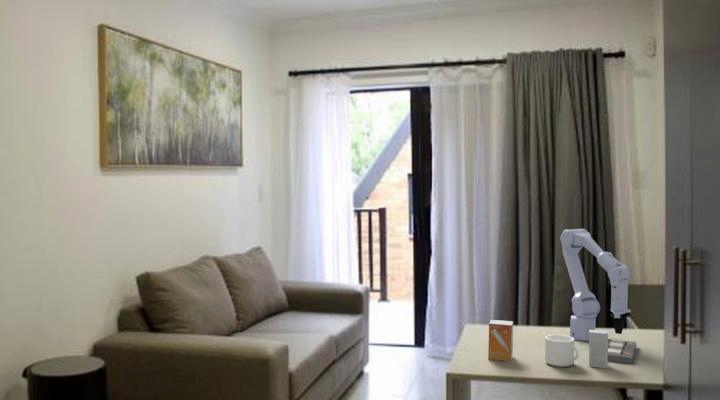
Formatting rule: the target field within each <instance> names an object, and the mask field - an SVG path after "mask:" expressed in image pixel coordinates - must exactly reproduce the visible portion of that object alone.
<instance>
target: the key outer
mask: <svg viewBox="0 0 720 400" xmlns="http://www.w3.org/2000/svg"><path fill="white" fill-rule="evenodd" d="M608 354H616V355H621V350H618V349H610V348H608Z"/></svg>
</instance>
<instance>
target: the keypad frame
mask: <svg viewBox="0 0 720 400" xmlns="http://www.w3.org/2000/svg"><path fill="white" fill-rule="evenodd" d="M611 340H612V338H608V348H609V344H610V342H611ZM636 350H637V341H631V340H630V341H629V340H625V345H623V350H621V355H616V354H608V362H614V363H621V364H628V365H632V362H633V359H634V356H635V353H636Z"/></svg>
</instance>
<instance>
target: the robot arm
mask: <svg viewBox="0 0 720 400" xmlns="http://www.w3.org/2000/svg"><path fill="white" fill-rule="evenodd" d="M559 239H560V242H561V246H562V254H563V255H562V256H563V258H564V261H565V265H566V269H567V271H568V274H569V279H570V282H571V284H572V287H573V292H574V295H573V297H572V298H571V303H572V304H571V305H572V306H571V307H572V308H571V309H572V313H573V314H574V315H573V314H572V315H571V316H570V323H569V325H570V327H569V336H570V337H572V338H574V341H575V340H576V341H577V340H579V341H582V342H584V341H585V342H589V330H596V319H597V317H598V314H599V313H600V311H601V305H600V302H599V301H598V299H597V298H596V295H595V294H594V293H593V292H591V291H590V289H589V286H588V283H587V279H586V277H585V273H584V270H583V267H582V263H581V260H580V258H579V252H580V250H582V248H583V247H584V248H585V249H586V250H587V251H588V252H590V253H591V254H592V255H593V256H594V257H595V258H596V261H597V264H599V266H601V268H602V269H604V270H605V271H606V273H607V277H608V278H609V281H610V285H611V287H610V288H611V289H610V290H611V292H610V293H611V294H610V297H611V298H610V309H609V310H610V312H612V313H610V318H611V321H612V322H613V327H614V332H615V334H618V335H622V333H623V330H624V326H625V325H624V324H625V321H626V319H627V318H628V314H627V313H631V311H632V310H631V309H628V298H629V297H628V296H629V295H628V294H629V293H628V291H629V289H628V288H629V280H630V279H631V277H632V270H631V268H630V266H629V265H627V264H623V263H621V262H620V261H618V259H616V258H615V257H614V256H613V253H612V252H609V251H604V250H603V249H602V248H601V246H599V245H598V244H597V242H596V241H595V240H594V239H593V237H592V236H591V233H590V232H588V230H587V229H585V228H575V229H563V231H562V233H561V234H560V237H559Z"/></svg>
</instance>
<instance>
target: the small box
mask: <svg viewBox="0 0 720 400" xmlns="http://www.w3.org/2000/svg"><path fill="white" fill-rule="evenodd" d="M513 343H514V321H512V320H500V319H498V320H497V319H490V321H489V323H488V357H487V359H488V360H494V361H495V360H496V361H502V362H503V361H505V362H512V359H513V351H514V350H513V348H514V347H513V346H514V344H513Z"/></svg>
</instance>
